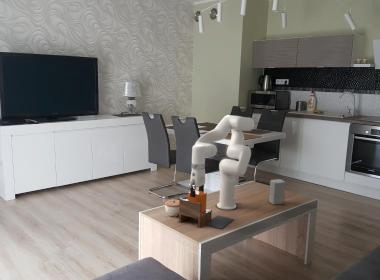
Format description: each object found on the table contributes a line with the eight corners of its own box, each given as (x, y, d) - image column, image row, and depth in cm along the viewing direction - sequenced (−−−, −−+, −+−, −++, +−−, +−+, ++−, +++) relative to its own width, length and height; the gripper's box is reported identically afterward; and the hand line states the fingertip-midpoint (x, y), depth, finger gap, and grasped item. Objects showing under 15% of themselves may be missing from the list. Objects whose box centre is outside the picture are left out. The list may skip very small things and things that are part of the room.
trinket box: (178, 210, 228) (179, 196, 226) (184, 216, 218) (185, 201, 217) (162, 212, 224) (162, 197, 223) (167, 218, 214) (168, 203, 213)
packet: (192, 207, 218) (193, 189, 216) (206, 210, 213) (206, 192, 211) (187, 210, 213) (188, 192, 211) (201, 213, 208) (201, 195, 206)
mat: (218, 216, 220) (218, 215, 220) (233, 219, 215) (233, 219, 215) (205, 225, 207) (205, 224, 207) (221, 229, 202) (221, 228, 202)
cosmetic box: (278, 200, 251) (280, 178, 248) (284, 204, 244) (286, 181, 241) (268, 201, 248) (269, 179, 245) (273, 205, 241) (275, 182, 238)
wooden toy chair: (191, 214, 222) (191, 192, 220) (211, 219, 215) (212, 197, 212) (178, 221, 210) (179, 198, 208) (199, 227, 203) (200, 203, 201)
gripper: (196, 170, 199) (195, 200, 202) (210, 164, 213) (209, 192, 216) (184, 168, 203) (183, 197, 205) (199, 162, 217) (198, 190, 220)
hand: (196, 194), depth 211 cm, fingers open, 9 cm apart
